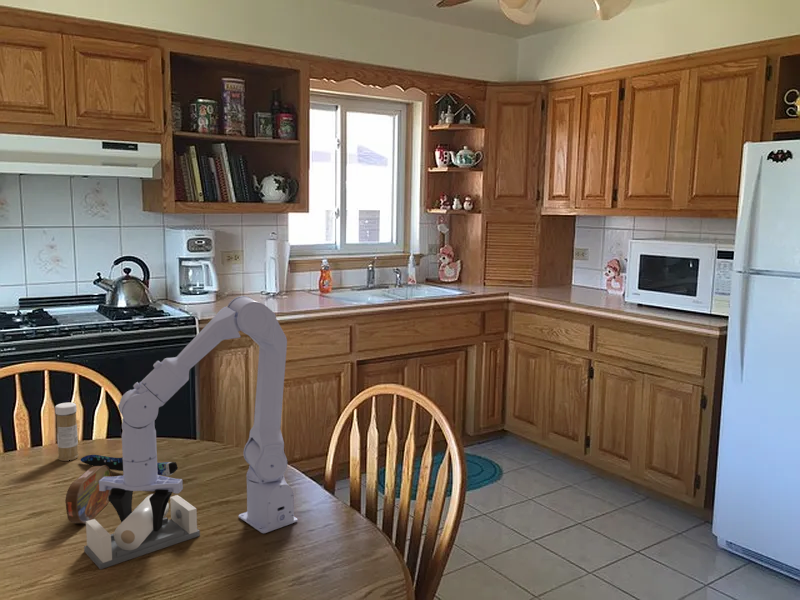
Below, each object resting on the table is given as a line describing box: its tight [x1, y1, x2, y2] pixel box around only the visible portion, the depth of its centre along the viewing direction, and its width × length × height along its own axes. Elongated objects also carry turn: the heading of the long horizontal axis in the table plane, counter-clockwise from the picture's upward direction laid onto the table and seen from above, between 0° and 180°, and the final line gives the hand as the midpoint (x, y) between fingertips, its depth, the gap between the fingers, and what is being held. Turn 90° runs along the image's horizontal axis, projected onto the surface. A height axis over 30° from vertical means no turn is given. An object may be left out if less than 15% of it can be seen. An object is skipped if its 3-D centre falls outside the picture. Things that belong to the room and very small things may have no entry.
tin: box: [64, 465, 113, 525], centre depth 134 cm, size 15×3×8 cm, turn 179°
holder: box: [83, 494, 201, 570], centre depth 123 cm, size 8×18×6 cm, turn 133°
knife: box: [80, 454, 179, 477], centre depth 154 cm, size 31×3×4 cm, turn 61°
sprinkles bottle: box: [54, 401, 80, 462], centre depth 163 cm, size 5×5×13 cm
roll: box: [113, 493, 170, 550], centre depth 123 cm, size 5×12×5 cm, turn 177°
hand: (142, 528), depth 123 cm, fingers closed on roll, 5 cm apart
